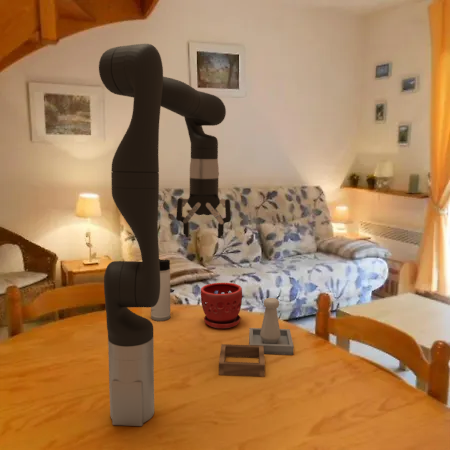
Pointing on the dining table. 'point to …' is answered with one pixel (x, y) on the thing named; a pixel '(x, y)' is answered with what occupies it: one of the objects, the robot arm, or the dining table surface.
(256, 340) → the tray
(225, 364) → the rectangular frame
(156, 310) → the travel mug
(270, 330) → the salt shaker
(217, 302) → the plant pot
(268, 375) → the dining table surface
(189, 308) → the dining table surface
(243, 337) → the dining table surface
